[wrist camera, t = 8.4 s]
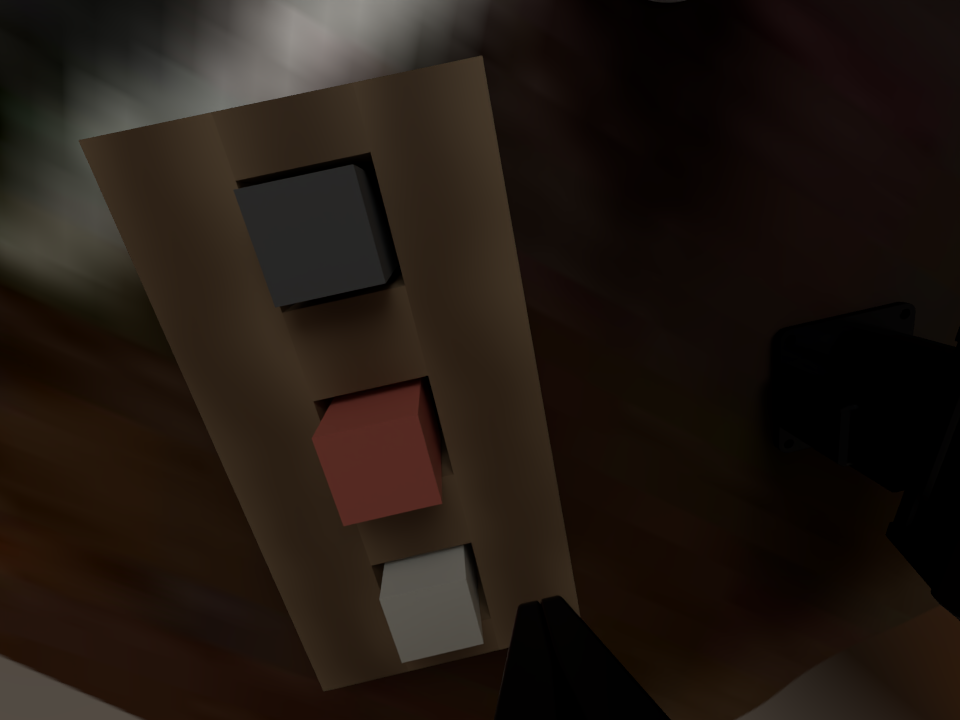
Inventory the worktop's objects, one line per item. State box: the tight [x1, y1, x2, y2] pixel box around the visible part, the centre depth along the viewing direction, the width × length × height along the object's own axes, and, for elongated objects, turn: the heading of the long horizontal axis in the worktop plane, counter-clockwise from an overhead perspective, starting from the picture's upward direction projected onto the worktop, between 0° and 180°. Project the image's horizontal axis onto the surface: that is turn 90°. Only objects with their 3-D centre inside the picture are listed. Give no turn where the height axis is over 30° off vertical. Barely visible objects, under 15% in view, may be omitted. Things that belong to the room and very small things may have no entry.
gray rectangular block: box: [233, 164, 399, 308], centre depth 16 cm, size 3×3×5 cm
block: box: [79, 56, 580, 691], centre depth 19 cm, size 12×23×4 cm, turn 12°
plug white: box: [379, 543, 484, 663], centre depth 21 cm, size 3×3×5 cm
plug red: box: [312, 376, 442, 526], centre depth 17 cm, size 3×3×5 cm
